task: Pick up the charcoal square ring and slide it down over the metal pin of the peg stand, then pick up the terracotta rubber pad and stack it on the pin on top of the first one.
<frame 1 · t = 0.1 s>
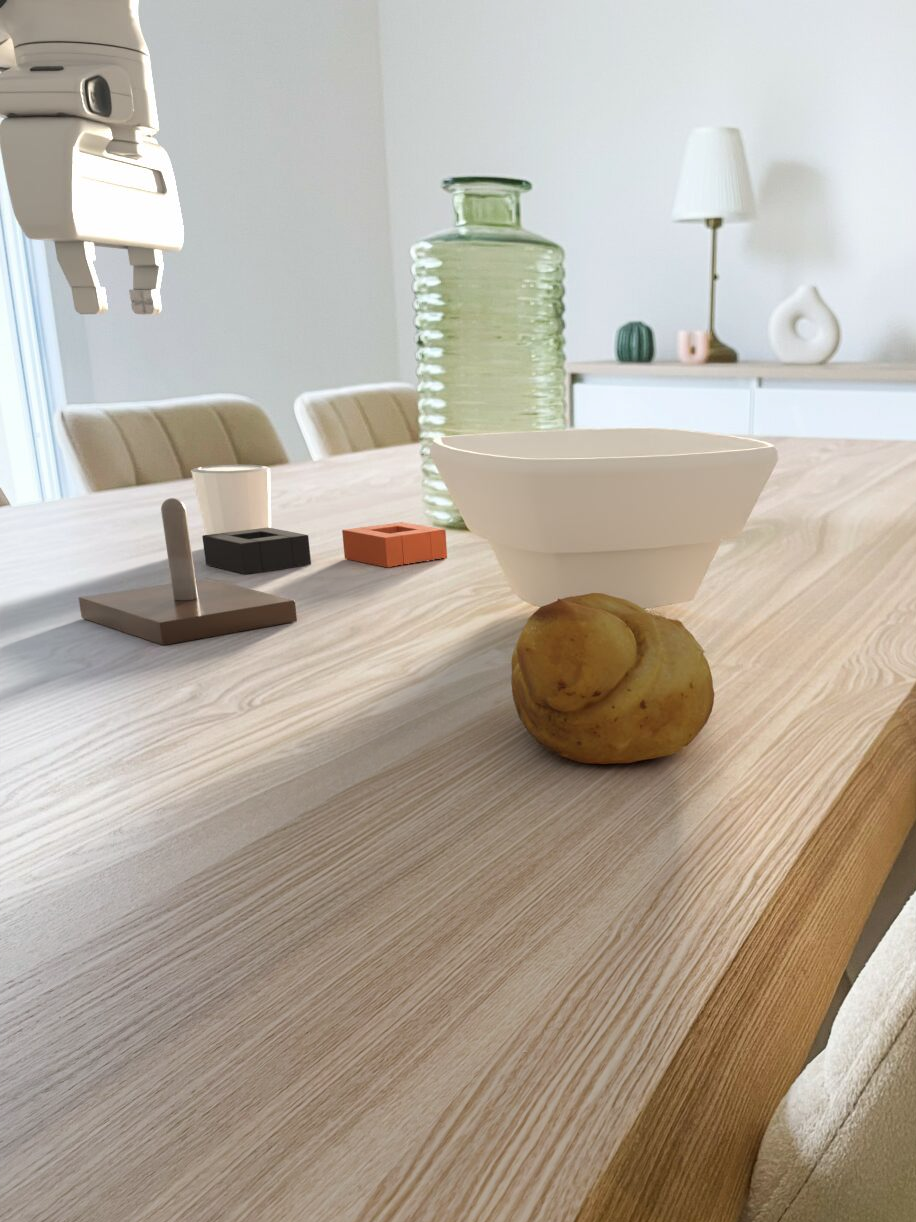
hand: (121, 314, 97), 20 cm above the table, tool pointing down, fingers open, 8 cm apart
peg stand: (188, 619, 91), on the table
terracotta pad: (396, 558, 114), on the table
charcoal square ring: (258, 564, 111), on the table
bowl: (601, 609, 95), on the table
cream cup: (240, 548, 121), on the table
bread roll: (607, 740, 66), on the table
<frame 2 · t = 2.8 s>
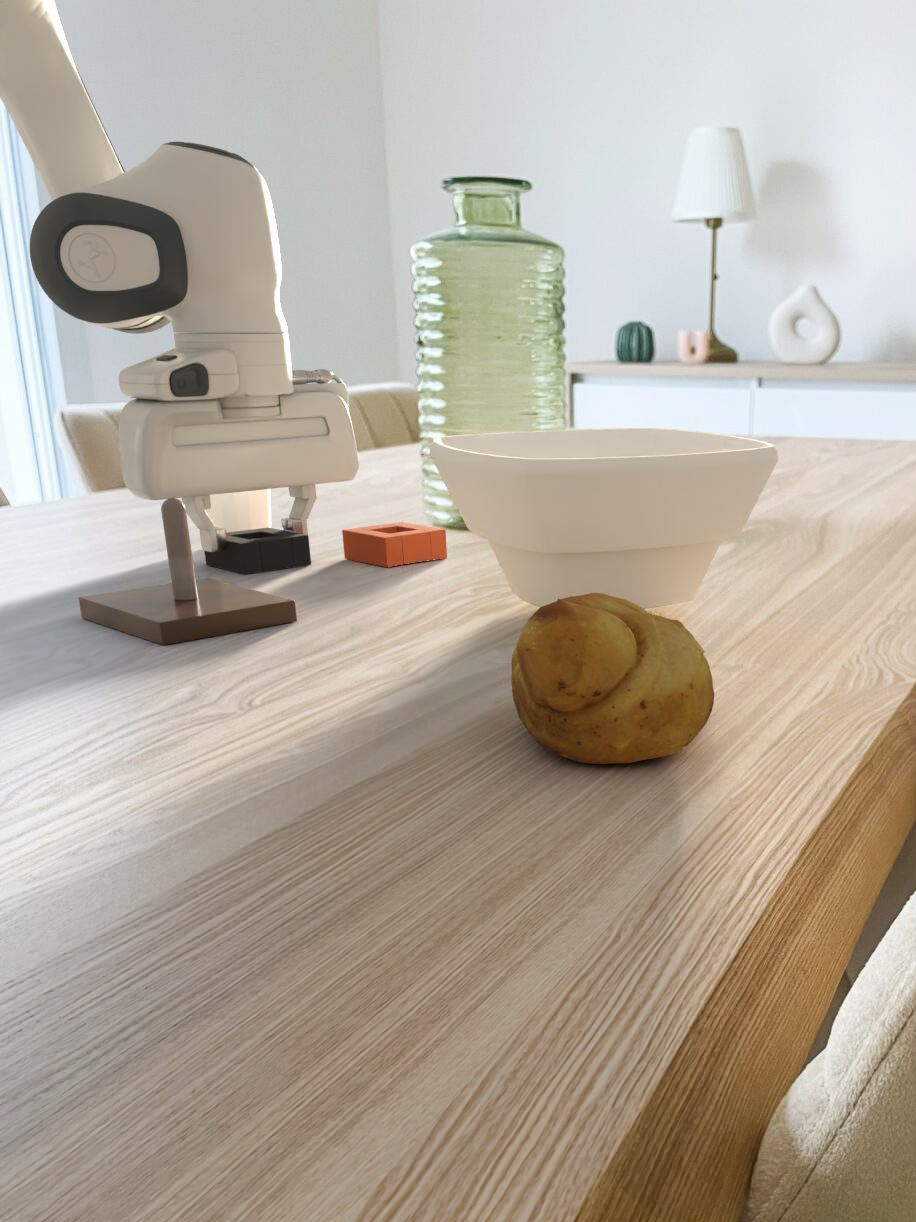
hand: (256, 545, 111), 2 cm above the table, tool pointing down, fingers closed on charcoal square ring, 6 cm apart
charcoal square ring: (258, 564, 111), on the table, touching gripper
everything else where it was.
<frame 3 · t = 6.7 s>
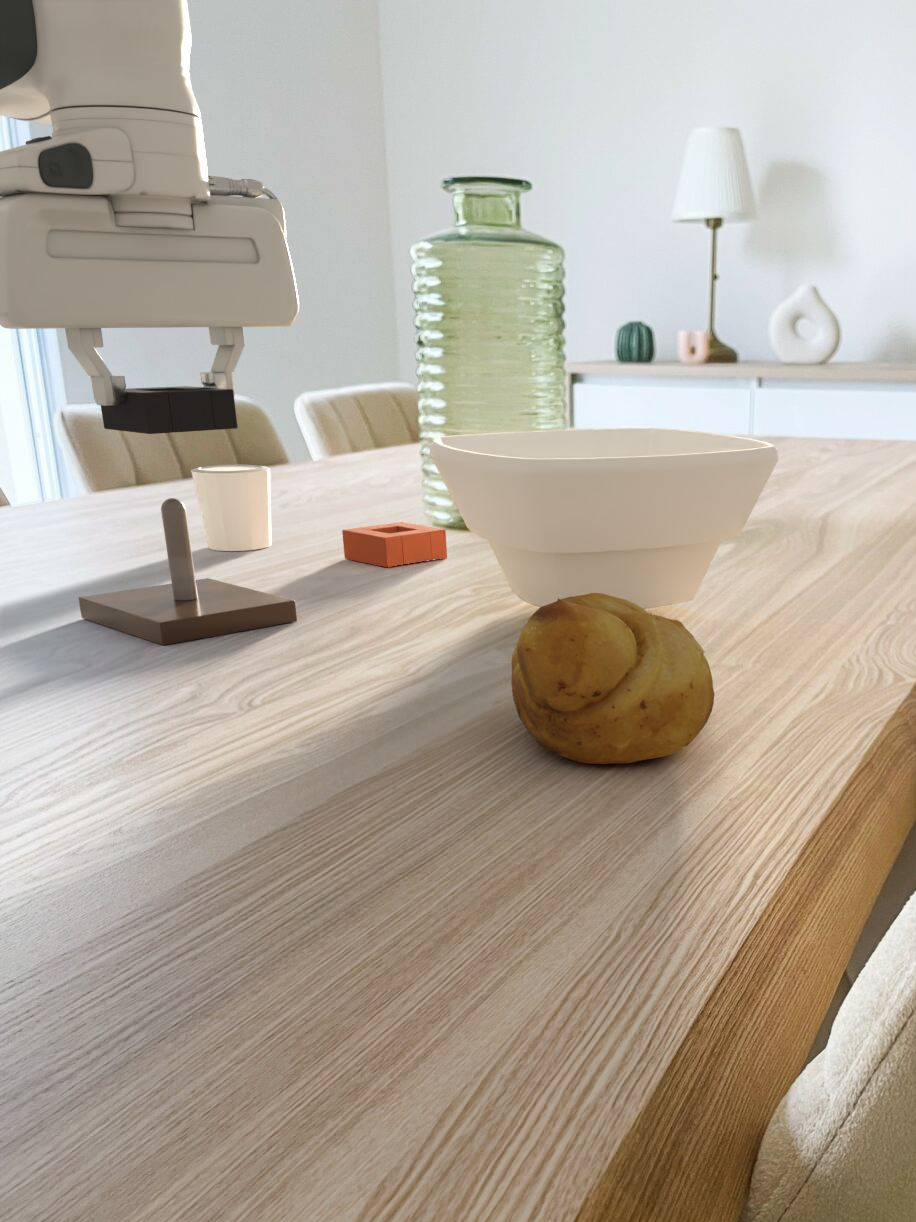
hand: (166, 402, 87), 14 cm above the table, tool pointing down, fingers closed on charcoal square ring, 6 cm apart
charcoal square ring: (171, 428, 88), point 13 cm above the table, touching gripper
everything else where it was.
when the fingers open (3 cm above the table, at t = 10.4 s): charcoal square ring stays where it is, resting on peg stand.
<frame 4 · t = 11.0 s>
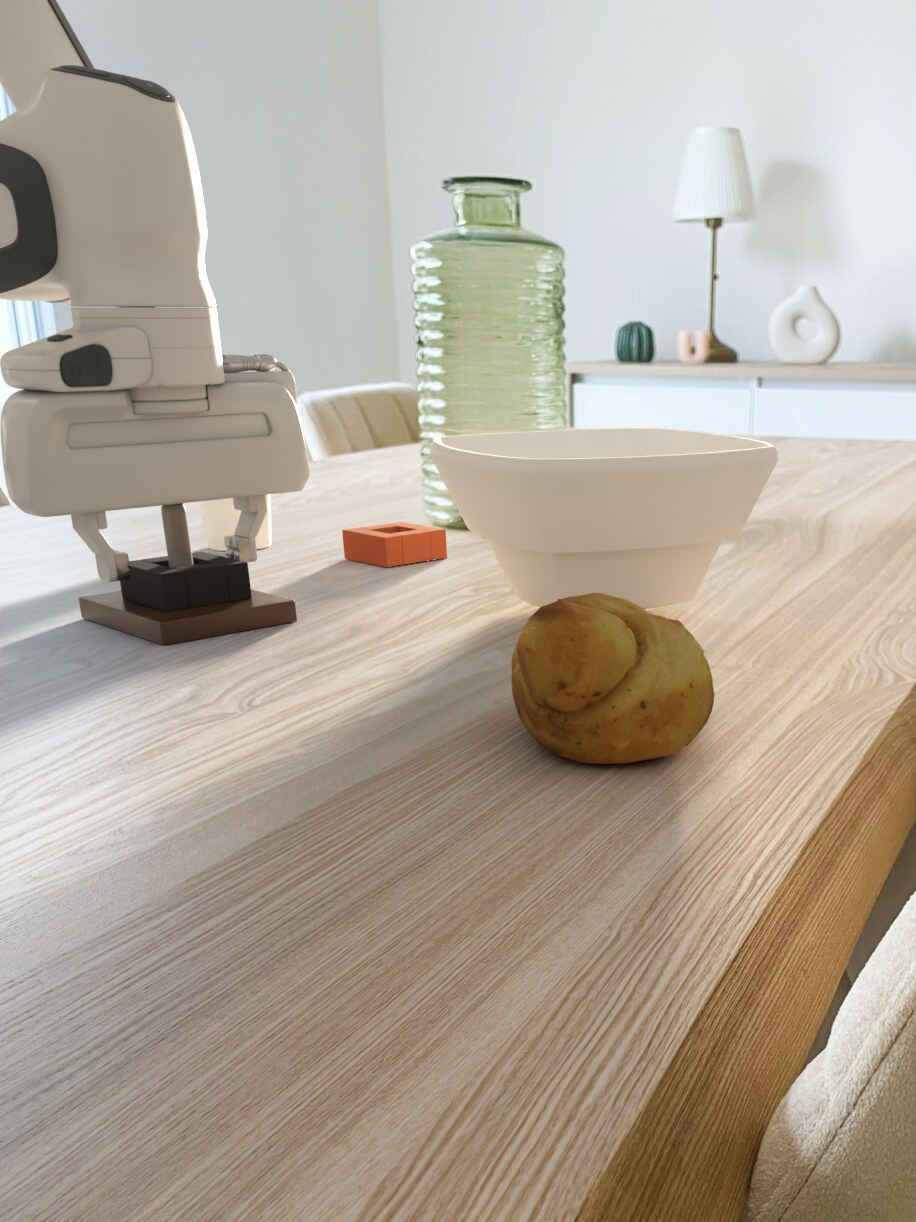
hand: (181, 570, 90), 3 cm above the table, tool pointing down, fingers open, 8 cm apart
charcoal square ring: (187, 598, 91), point 1 cm above the table, touching peg stand
everything else where it was.
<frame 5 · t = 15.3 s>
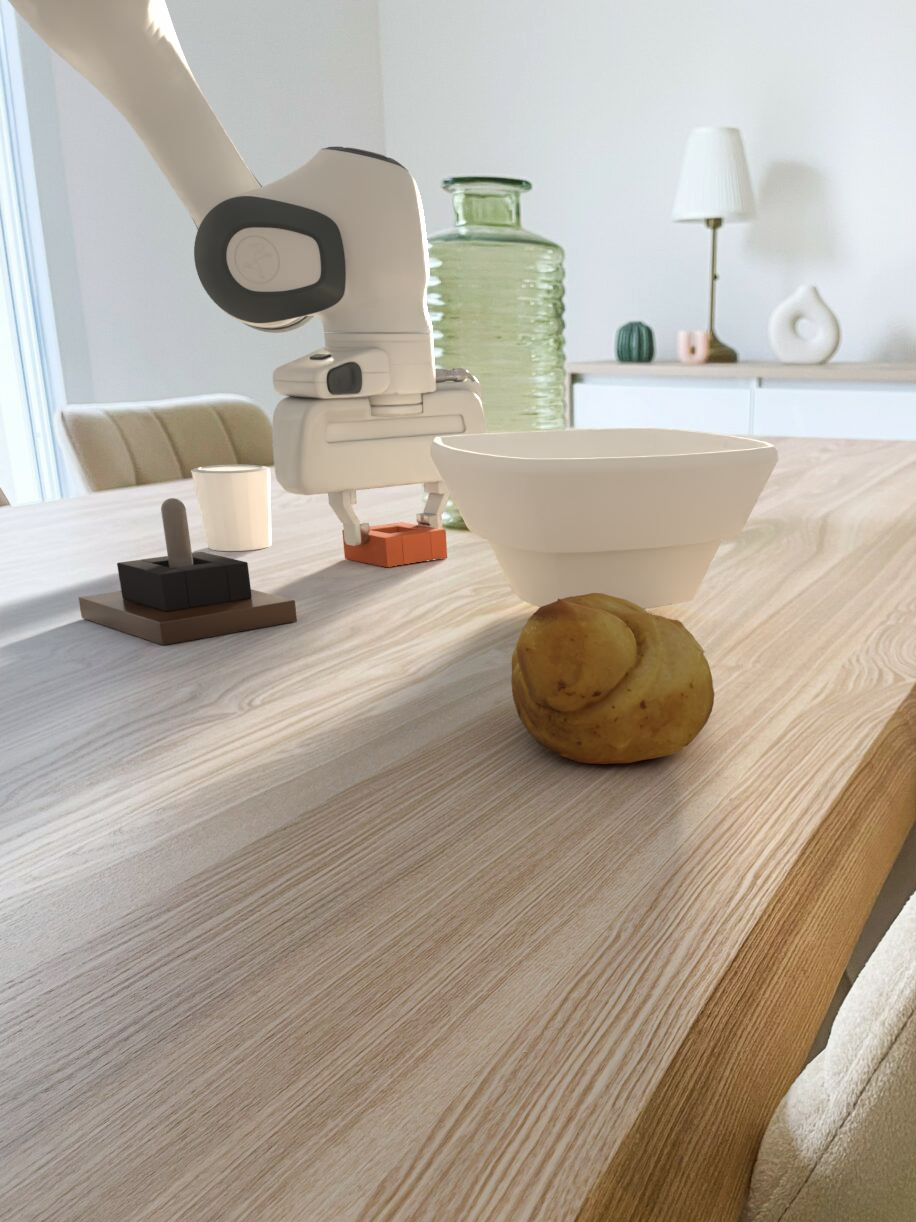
hand: (394, 539, 114), 2 cm above the table, tool pointing down, fingers closed on terracotta pad, 6 cm apart
terracotta pad: (396, 558, 114), on the table, touching gripper
everything else where it was.
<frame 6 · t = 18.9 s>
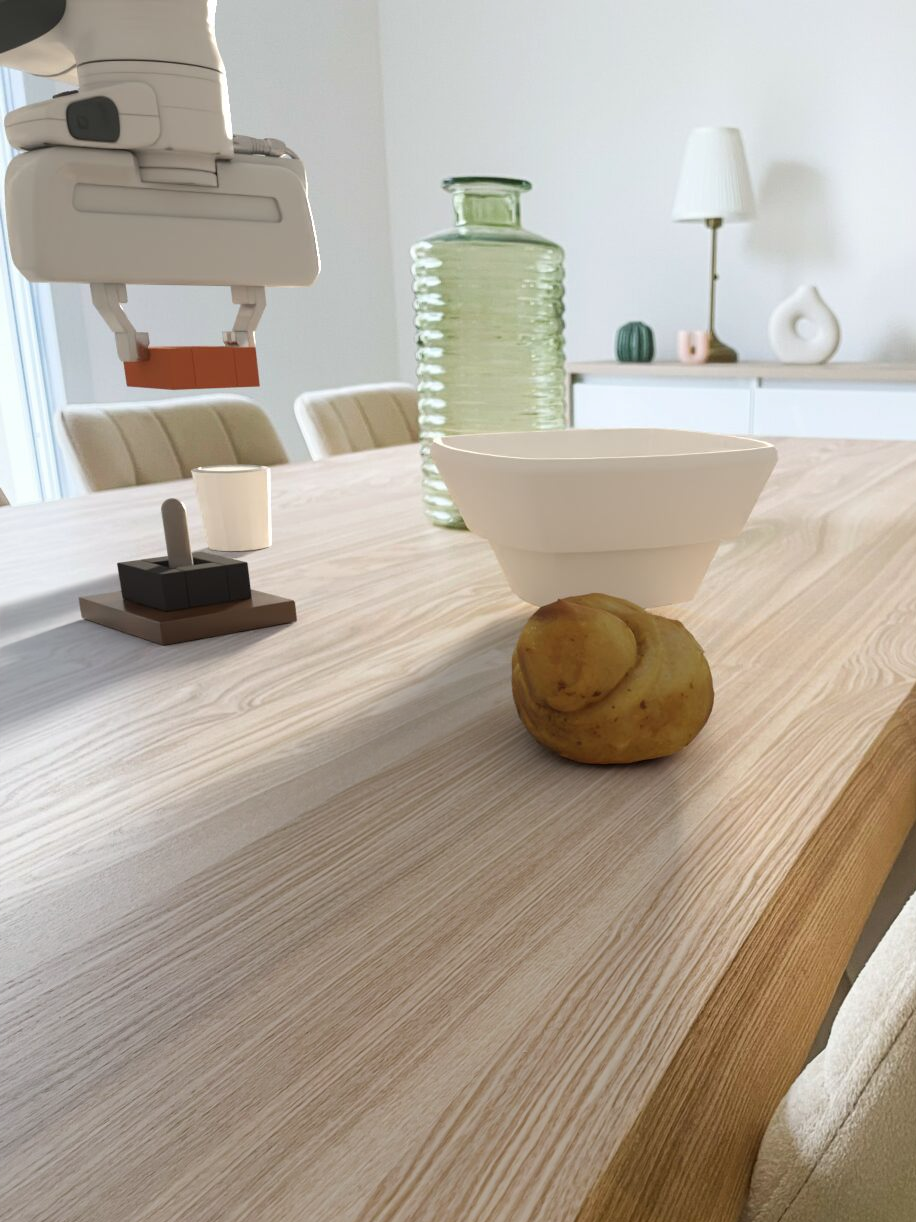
hand: (189, 360, 88), 17 cm above the table, tool pointing down, fingers closed on terracotta pad, 6 cm apart
terracotta pad: (193, 386, 88), point 15 cm above the table, touching gripper
everything else where it was.
when the fingers open (6 cm above the table, at t = 23.0 s): terracotta pad stays where it is, resting on charcoal square ring.
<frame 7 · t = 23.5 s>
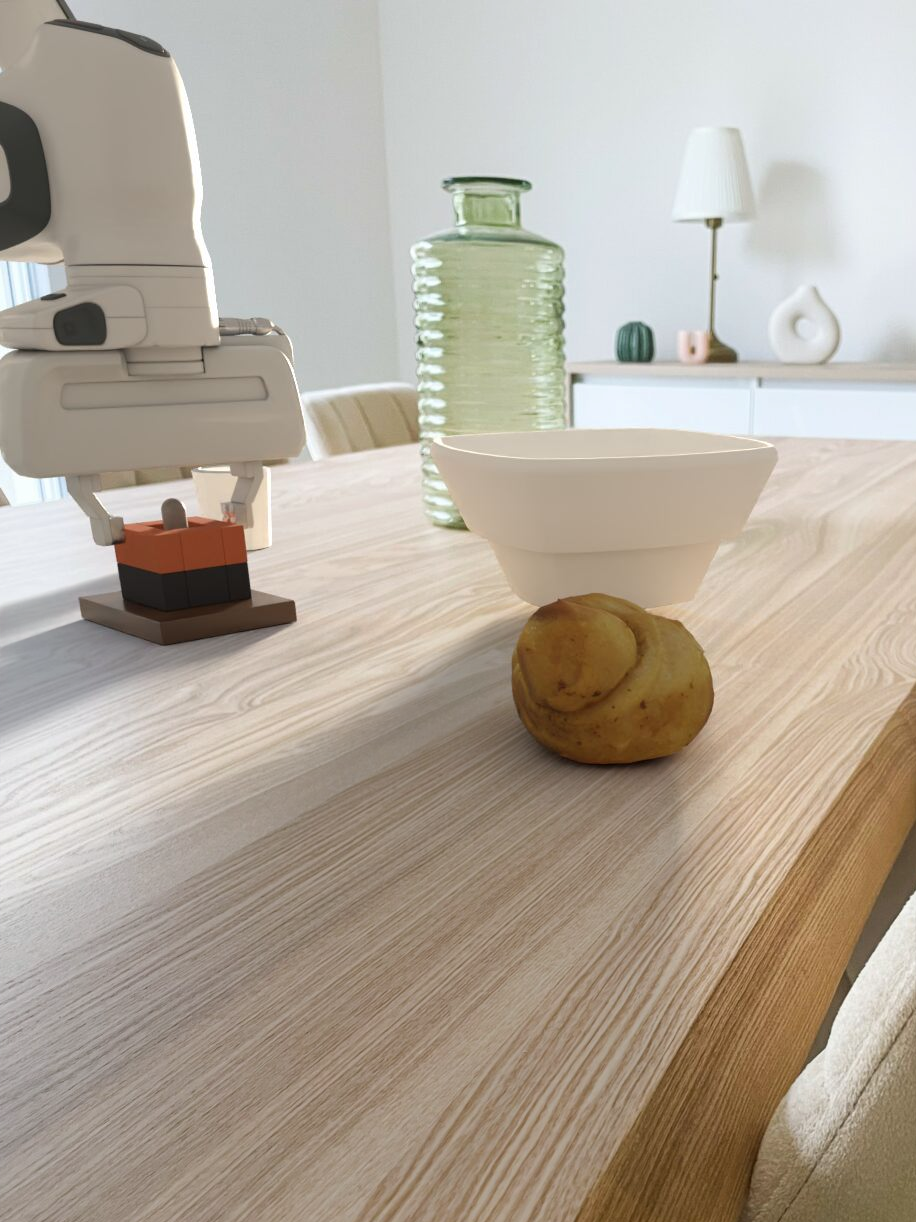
hand: (177, 536, 89), 6 cm above the table, tool pointing down, fingers open, 8 cm apart
terracotta pad: (182, 562, 90), point 4 cm above the table, touching charcoal square ring
charcoal square ring: (187, 598, 91), point 1 cm above the table, touching peg stand, terracotta pad
everything else where it was.
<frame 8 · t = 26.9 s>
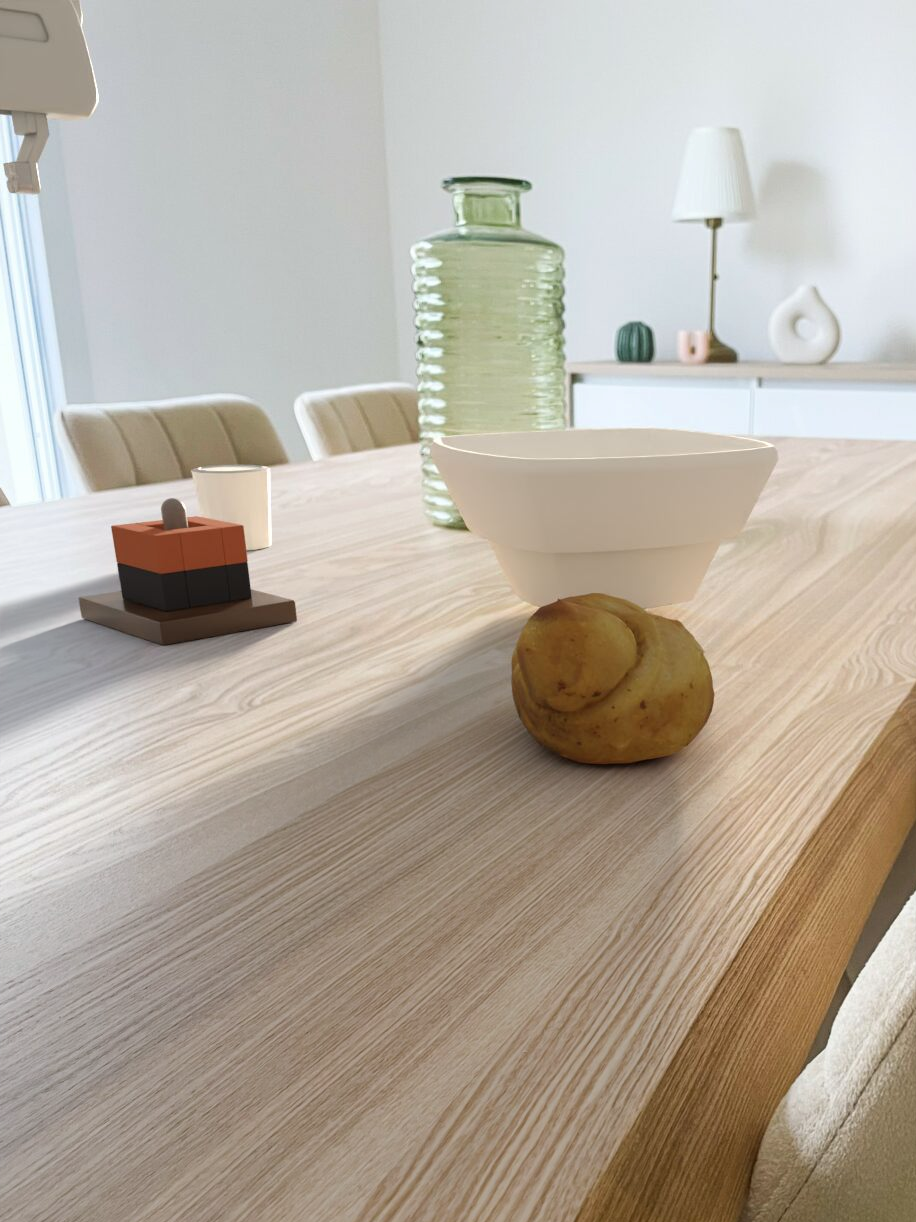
nothing on the table moved.
at the end: charcoal square ring 0.1 cm off-centre on the peg stand, point 1.5 cm above the peg stand's base; terracotta pad 0.1 cm off-centre on the peg stand, point 4.0 cm above the peg stand's base; terracotta pad tilted 0° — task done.
